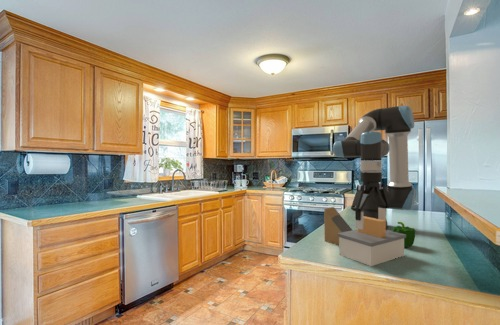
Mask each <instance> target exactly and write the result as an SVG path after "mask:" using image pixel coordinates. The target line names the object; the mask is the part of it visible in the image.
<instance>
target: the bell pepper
mask: <svg viewBox="0 0 500 325" xmlns="http://www.w3.org/2000/svg"><path fill="white" fill-rule="evenodd" d="M397 224H398V225H397V226H393V228H392V229H391V231H393V232H397V233H401V234H406V238H404V248H410V247H412V246H413V245H414V242H415V239H416V230H415V228H414V227H410V226H405V224H404V223H403V222H401V221H397Z"/></svg>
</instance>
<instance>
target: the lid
mask: <svg viewBox="0 0 500 325" xmlns="http://www.w3.org/2000/svg"><path fill="white" fill-rule="evenodd" d="M386 220H387V219H386ZM386 220H380V219H375V218H370V217H365V216H363V230H362V229H358V228H356V229H352V231H347V232H342V233H337V237H341V238H344V239H347V240H351V241H354V242H357V243H360V244H364V245H367V246H370V247H373V246H376V245H380V244H384V243H388V242H392V241H396V240H399V239H403V238H406V234H401V233H397V232H393V231H392V230H387V229H386V228H387V227H386Z"/></svg>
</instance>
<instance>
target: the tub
mask: <svg viewBox="0 0 500 325" xmlns="http://www.w3.org/2000/svg"><path fill="white" fill-rule="evenodd" d="M338 252H339V253H338V255H339V256H343V257H345V258H348V259H351V260H353V261H355V262H358V263H361V264H365V265H367V266H369V267H373V266H376V265H377V266H378V265H380V264H382V263H385V262H389V261H391V260H392V261H393V260H395V258H396V259H399V258H401V256H402V257H404V256H405V247H404V238H403V239H399V240H396V241H392V242H388V243H384V244H380V245H376V246H373V247H370V246H367V245H364V244H360V243H357V242H354V241H351V240H347V239H344V238H341V237H339V245H338ZM398 257H399V258H398Z"/></svg>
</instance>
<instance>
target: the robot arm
mask: <svg viewBox="0 0 500 325" xmlns="http://www.w3.org/2000/svg"><path fill="white" fill-rule="evenodd" d="M413 113H414V112H413V110H412V108H411V107H410V106H409V105H398V106H392V107H382V108H375V109H373V110H370V111H369V112H367V113H365V114H364V115H363V116H361V117H360V118H359V119H358V121H357V124H356V125H355V127H354V128H353V129H352V131H351V132H350V133H348V135H347V136H346V137H345V138H344V139H343V140H336V141H335V142H334V143H333V147H332V151H333V155H334V156H335V157H336V158H360V171H361V172H360V181H361V182H362V184H357V185H356V191H355V195H354V198H353V201H352V204H351V206H350V209H351V210H352V211H354V212H355V229H362V230H363V216H365V217H370V218H375V219H380V220H386V228H388V221H387V218H386V217H387V209H391V210H402V211H411V210H412V209H413V208H414V206H415V201H416V195H417V189H416V188H415V187H413V184H412V183H411V182H410V180H409V149H408V148H409V146H408V142H409V141H408V136H409V134H410V133H411V132H412V129H414V128H415V118H414V114H413ZM381 131H384V133H385V135H386V136H388V141H387V140H385V139H383V137H382V133H381ZM388 154H389V155H388ZM387 155H388V157H389V181H388V182H387V184H385V183H382V181H383V180H382V179H383V176H382V175H383V174H382V172H381V171H382V170H383V168H382V166H383V165H382V157H386V156H387Z"/></svg>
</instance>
